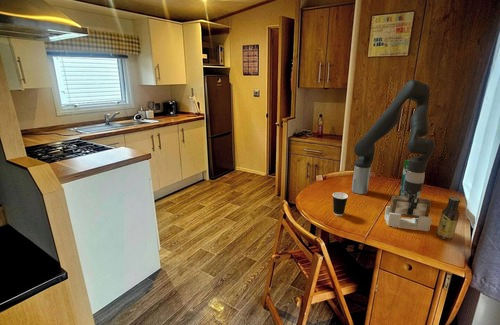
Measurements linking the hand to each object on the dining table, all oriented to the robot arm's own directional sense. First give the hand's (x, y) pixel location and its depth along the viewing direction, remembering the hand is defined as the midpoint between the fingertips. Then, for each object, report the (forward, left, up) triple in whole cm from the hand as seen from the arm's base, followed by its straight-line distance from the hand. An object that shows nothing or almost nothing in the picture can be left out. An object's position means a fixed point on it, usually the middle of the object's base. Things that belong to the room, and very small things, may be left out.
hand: (408, 212), depth 133 cm
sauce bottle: (+14, -8, -7) cm, 18 cm away
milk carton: (+9, +32, -7) cm, 34 cm away
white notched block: (0, 0, -7) cm, 7 cm away
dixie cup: (-32, +3, -7) cm, 33 cm away
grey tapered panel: (0, 0, -2) cm, 2 cm away
